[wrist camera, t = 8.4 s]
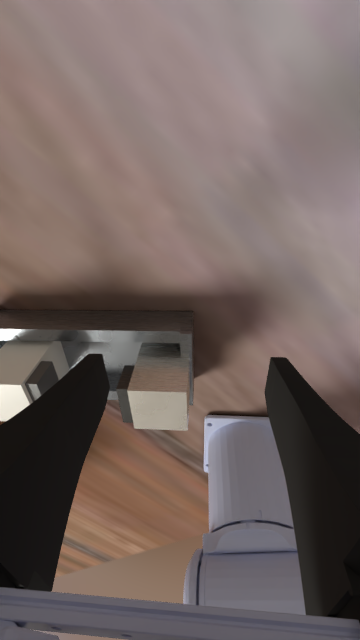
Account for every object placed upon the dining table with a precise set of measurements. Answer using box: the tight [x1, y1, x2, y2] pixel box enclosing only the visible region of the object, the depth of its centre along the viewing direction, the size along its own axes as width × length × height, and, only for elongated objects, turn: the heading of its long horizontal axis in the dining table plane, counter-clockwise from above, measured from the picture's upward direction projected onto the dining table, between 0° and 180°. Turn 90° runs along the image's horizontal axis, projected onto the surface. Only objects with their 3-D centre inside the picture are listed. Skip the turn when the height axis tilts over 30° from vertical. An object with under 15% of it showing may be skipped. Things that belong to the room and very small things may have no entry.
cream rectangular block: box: [0, 340, 69, 421], centre depth 21 cm, size 4×4×5 cm
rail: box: [0, 310, 194, 431], centre depth 21 cm, size 7×16×7 cm, turn 92°
